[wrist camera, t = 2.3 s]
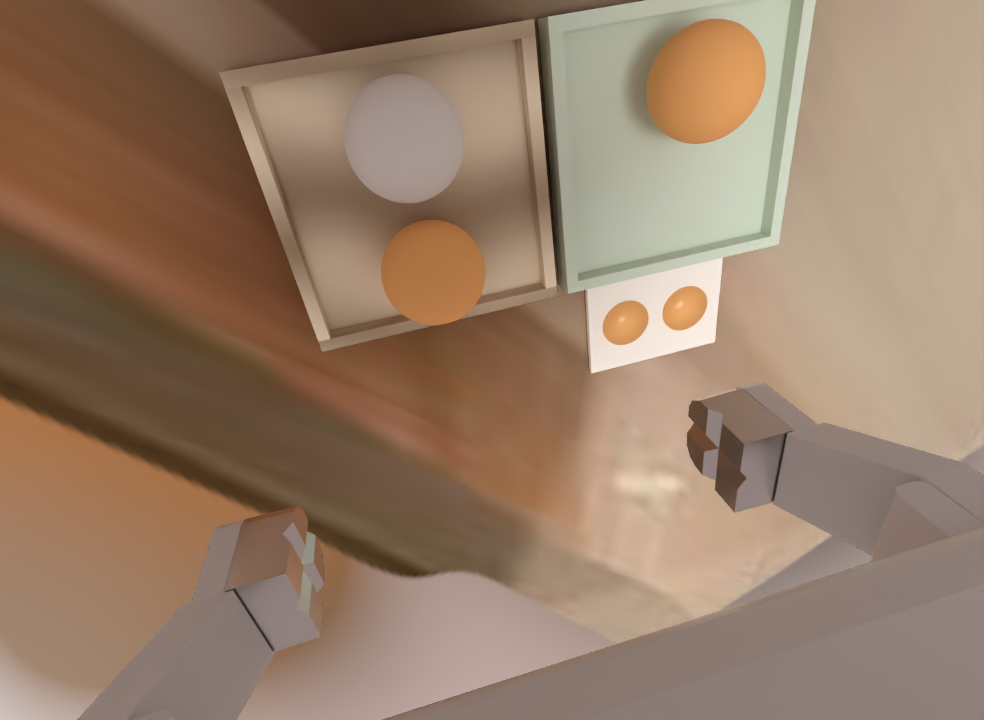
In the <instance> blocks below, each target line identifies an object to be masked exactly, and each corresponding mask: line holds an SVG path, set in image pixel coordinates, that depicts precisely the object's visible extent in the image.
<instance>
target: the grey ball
mask: <svg viewBox="0 0 984 720" xmlns="http://www.w3.org/2000/svg"><path fill="white" fill-rule="evenodd" d="M344 145H345V150H346V154H347V157H348V160H349V162H350V164H351V167H352V169H353V170H354V172H355V174H356V175H357V177H358V178H359V179H360V180H361V181H362V183H363V184H364V185H365V186H366V187H368V188H369V189H370V190H371V191H373V192H374V193H375V194H377V195H379V196H381V197H383V198H385V199H388V200H390V201H394V202H399V203H417V202H422V201H426V200H428V199H430V198H433V197H434V196H436V195H438V194H439V193H441V192H442V191H443V190H444V189H446V187H447V186H448V185H449V184H450V183H451V182H452V181H453V179H454V178H455V176H456V174H457V172H458V170H459V168H460V166H461V162H462V159H463V154H464V131H463V126H462V122H461V120H460V117H459V114H458V112H457V110H456V108H455V107H454V105H453V104H452V102H451V101H450V99H449V98H448V97H447V96H446V95H445V94H444V93H443V92H442V91H441V90H440V89H439V88H438V87H436V86H435V85H434V84H432V83H431V82H429V81H427V80H425V79H423V78H420V77H417V76H413V75H408V74H394V75H388V76H384V77H381V78H379V79H376V80H374V81H373V82H371V83H370V84H368V85H367V86H366V87H364V88H363V89H362V90H361V91H360V92H359V93H358V95H357V96H356V97H355V99H354V100H353V102H352V103H351V105H350V108H349V110H348V112H347V115H346V119H345V124H344Z"/></svg>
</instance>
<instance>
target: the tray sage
mask: <svg viewBox="0 0 984 720" xmlns="http://www.w3.org/2000/svg"><path fill="white" fill-rule="evenodd" d="M815 3H816V0H644V1H638V2H632V3H626V4H620V5H614V6H609V7H603V8H597V9H591V10H585V11H579V12H573V13H567V14H561V15H555V16H549V17H544V18H539V19H538V31H539V43H540V55H541V68H542V80H543V92H544V104H545V117H546V129H547V141H548V154H549V166H550V178H551V190H552V203H553V215H554V227H555V239H556V252H557V264H558V276H559V285H560V286H561V287H562V288H563V289H564V290H565V291H566V292H567V293H568V294H570V293H574V292H578V291H583V290H587V289H591V288H595V287H600V286H604V285H608V284H612V283H617V282H621V281H625V280H629V279H634V278H638V277H642V276H646V275H651V274H655V273H659V272H663V271H668V270H672V269H676V268H680V267H685V266H689V265H693V264H697V263H702V262H706V261H710V260H714V259H719V258H723V257H727V256H731V255H736V254H740V253H744V252H748V251H752V250H757V249H761V248H765V247H769V246H774V245H778V244H779V238H780V231H781V225H782V218H783V212H784V205H785V199H786V192H787V186H788V179H789V172H790V166H791V159H792V153H793V146H794V140H795V133H796V127H797V120H798V114H799V107H800V101H801V94H802V88H803V81H804V75H805V68H806V62H807V55H808V49H809V42H810V36H811V29H812V22H813V16H814V9H815ZM707 19H727V20H731V21H734V22H737V23H739V24H741V25H743V26H744V27H745V28H747V29H748V30H749V31H751V33H752V34H753V35H754V36H755V37H756V39H757V40H758V42H759V43H760V45H761V47H762V50H763V53H764V57H765V63H766V79H765V85H764V88H763V92H762V95H761V97H760V99H759V102H758V104H757V105H756V107H755V109H754V110H753V112H752V113H751V114H750V116H749V117H748V118H747V119H746V120H745V122H744V123H743V124H742V125H740V126H739V127H738V128H737V129H736V130H734V131H733V132H731V133H730V134H728V135H727V136H725V137H723V138H721V139H718V140H716V141H712V142H709V143H702V144H689V143H683V142H680V141H677V140H675V139H672V138H671V137H669V136H667V135H666V134H665V133H664V132H663V131H661V130H660V129H659V127H658V126H657V125H656V123H655V122H654V120H653V119H652V116H651V114H650V112H649V108H648V104H647V95H646V89H647V80H648V76H649V72H650V69H651V67H652V64H653V62H654V60H655V58H656V56H657V54H658V53H659V51H660V50H661V48H662V47H663V46H664V45H665V43H666V42H667V41H668V40H669V39H670V38H671V37H673V36H674V35H675V34H676V33H677V32H679V31H680V30H682V29H683V28H685V27H687V26H689V25H691V24H693V23H695V22H699V21H702V20H707Z"/></svg>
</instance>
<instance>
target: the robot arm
mask: <svg viewBox="0 0 984 720" xmlns="http://www.w3.org/2000/svg"><path fill="white" fill-rule="evenodd" d="M688 416H689V417H690V418H691V419H692V421H693V422H694V424H693V425H692V427H691V428H690V430H689V431H688V432H687V446H688V450H689V454H690V457H691V459H692V461H693V463H694V465H695V466H696V468H697V469H698V470H699V471H700V472H701V474H702V475H704V476H707V477H709V478H711V479H714V480H715V490H716V492H717V493H718V494H719V495H720V496H721V497H722V499H723V500H724V501H725V502H726V503H727V504H728V506H729V507H730V508H731V509H732V510H733V511H734V513H735V512H739V511H743V510H746V509H750V508H754V507H758V506H761V505H765V504H769V503H772V502H774V505H776V506H778V507H780V508H781V509H783V510H785V511H787V512H789V513H791V514H793V515H795V516H797V517H799V518H801V519H803V520H804V521H806V522H808V523H810V524H812V525H814V526H816V527H818V528H820V529H822V530H824V531H826V532H827V533H829V534H831V535H833V536H835V537H837V538H839V539H841V540H843V541H845V542H847V543H849V544H851V545H853V546H855V547H856V548H858V549H860V550H862V551H864V552H866V553H868V554H870V555H871V557H870V560H869V563H866V564H863V565H860V566H857V567H854V568H851V569H848V570H845V571H842V572H838V573H836V574H832V575H829V576H826V577H823V578H820V579H817V580H814V581H811V582H808V583H805V584H801V585H798V586H795V587H792V588H789V589H786V590H783V591H780V592H776V593H774V594H770V595H767V596H764V597H761V598H758V599H755V600H752V601H749V602H746V603H743V604H740V605H736V606H733V607H730V608H727V609H724V610H721V611H718V612H715V613H712V614H709V615H705V616H702V617H699V618H696V619H693V620H690V621H687V622H684V623H681V624H678V625H675V626H671V627H668V628H665V629H662V630H659V631H656V632H653V633H650V634H647V635H644V636H641V637H637V638H634V639H631V640H628V641H625V642H622V643H619V644H616V645H613V646H610V647H606V648H604V649H600V650H597V651H594V652H591V653H588V654H585V655H582V656H578V657H576V658H572V659H569V660H566V661H563V662H560V663H557V664H554V665H551V666H547V667H545V668H541V669H538V670H535V671H532V672H529V673H526V674H523V675H520V676H516V677H513V678H510V679H507V680H504V681H501V682H498V683H495V684H492V685H488V686H485V687H482V688H479V689H476V690H473V691H470V692H466V693H463V694H460V695H457V696H454V697H451V698H448V699H445V700H442V701H439V702H435V703H432V704H429V705H426V706H423V707H420V708H417V709H414V710H411V711H408V712H405V713H401V714H398V715H395V716H392V717H389V718H386V719H383V720H984V475H983V474H981V473H980V472H978V471H977V470H975V469H974V468H972V467H971V466H969V465H968V464H966V463H962V462H959V461H956V460H952V459H949V458H945V457H942V456H938V455H935V454H931V453H928V452H924V451H921V450H917V449H914V448H911V447H907V446H904V445H900V444H897V443H893V442H890V441H886V440H883V439H879V438H876V437H873V436H869V435H866V434H862V433H859V432H855V431H852V430H848V429H845V428H841V427H838V426H834V425H831V424H828V423H822V424H817V423H815V422H814V421H813V420H811V419H810V418H809V417H808V416H806V415H805V414H804V413H802V412H801V411H800V410H799V409H797V408H796V407H795V406H793V405H792V404H791V403H790V402H788V401H787V400H786V399H784V398H783V397H782V396H781V395H779V394H778V393H777V392H775V391H774V390H773V389H772V388H770V387H769V386H768V385H766V384H765V383H761V382H755V383H752V384H748V385H745V386H741V387H738V388H736V389H732V390H728V391H725V392H721V393H717V394H714V395H710V396H707V397H703V398H699V399H696V400H692V402H691V404H690V406H689V415H688ZM307 525H308V519H307V517H306V515H305V513H304V511H303V509H302V508H301V507H298V506H297V507H293V508H289V509H285V510H281V511H277V512H273V513H269V514H265V515H260V516H256V517H252V518H248V519H245V520H242V521H239V522H234V523H230V524H226V525H222V526H218V527H217V529H216V530H215V531H214V532H213V534H212V538H211V541H210V544H209V547H208V550H207V554H206V557H205V560H204V563H203V567H202V570H201V573H200V577H199V580H198V583H197V586H196V590H195V593H194V596H193V599H192V602H189V603H186V604H183V605H182V606H181V607H180V609H178V611H177V612H176V613H175V614H174V615H173V616H172V617H171V618H170V619H169V620H168V622H166V624H165V625H164V626H163V627H162V628H161V629H160V630H159V631H158V632H157V633H156V634H155V636H154V637H153V638H152V639H151V640H150V641H149V642H148V643H147V644H146V645H145V646H144V647H143V649H142V650H141V651H140V652H139V653H138V654H137V655H136V656H135V657H134V658H133V659H132V661H131V662H130V663H129V664H128V665H127V666H126V667H125V668H124V669H123V670H122V671H121V673H120V674H119V675H118V676H117V677H116V678H115V679H114V680H113V681H112V682H111V684H110V685H109V686H108V687H107V688H106V689H105V690H104V691H103V692H102V693H101V694H100V695H99V696H98V698H97V699H96V700H95V701H94V702H93V703H92V704H91V705H90V706H89V707H88V708H87V709H86V711H85V712H84V713H83V714H82V715H81V716H80V717H79V718H78V719H77V720H237V718H238V717H239V715H240V713H241V711H242V710H243V708H244V706H245V704H246V703H247V701H248V699H249V698H250V696H251V694H252V692H253V691H254V689H255V687H256V685H257V684H258V682H259V680H260V679H261V677H262V675H263V674H264V672H265V670H266V668H267V667H268V665H269V663H270V661H271V660H272V658H273V656H274V652H275V651H278V650H281V649H284V648H287V647H290V646H293V645H296V644H299V643H302V642H305V641H308V640H311V639H314V638H317V637H320V636H321V625H322V608H323V603H322V601H321V599H320V597H319V596H318V591H319V590H320V588H321V587H322V585H323V584H324V572H325V570H324V562H323V554H322V551H321V547H320V544H319V542H318V540H317V537H316V535H314V534H312V533H310V532H308V531H307Z"/></svg>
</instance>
